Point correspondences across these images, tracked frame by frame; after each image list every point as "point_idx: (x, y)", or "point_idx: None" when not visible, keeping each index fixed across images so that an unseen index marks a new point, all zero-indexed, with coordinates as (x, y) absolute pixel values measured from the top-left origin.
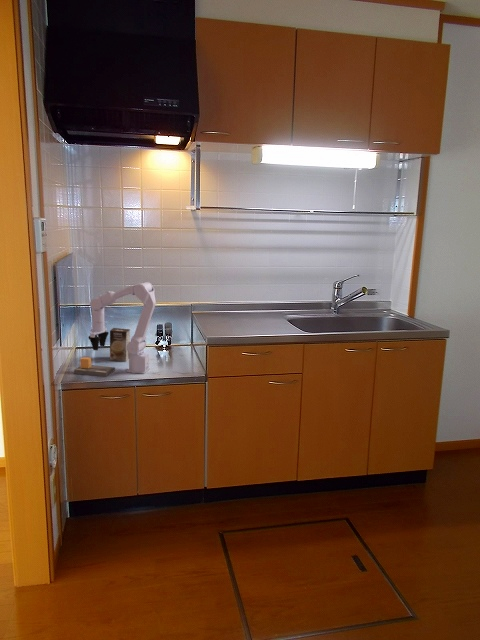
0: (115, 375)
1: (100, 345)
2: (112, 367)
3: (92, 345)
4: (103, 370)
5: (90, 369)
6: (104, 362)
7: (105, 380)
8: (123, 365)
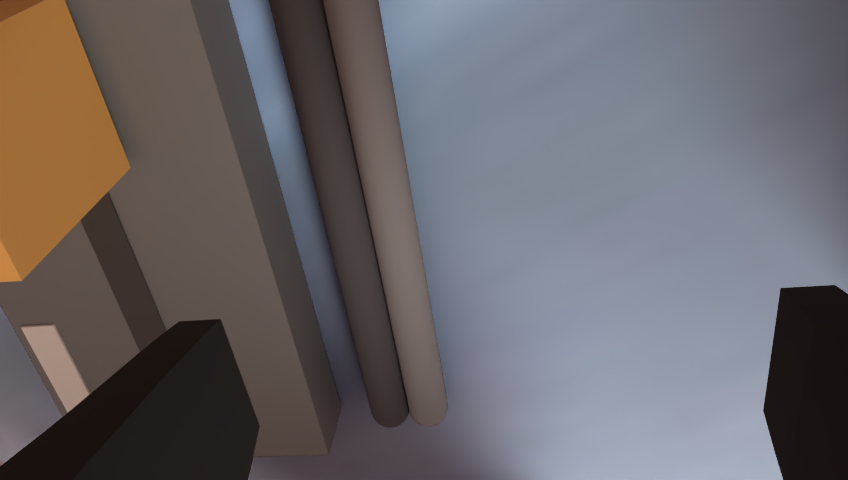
0: None
1: (790, 313)
2: (410, 394)
3: (44, 452)
4: None
5: None
6: (779, 64)
7: (16, 451)
8: (679, 415)
